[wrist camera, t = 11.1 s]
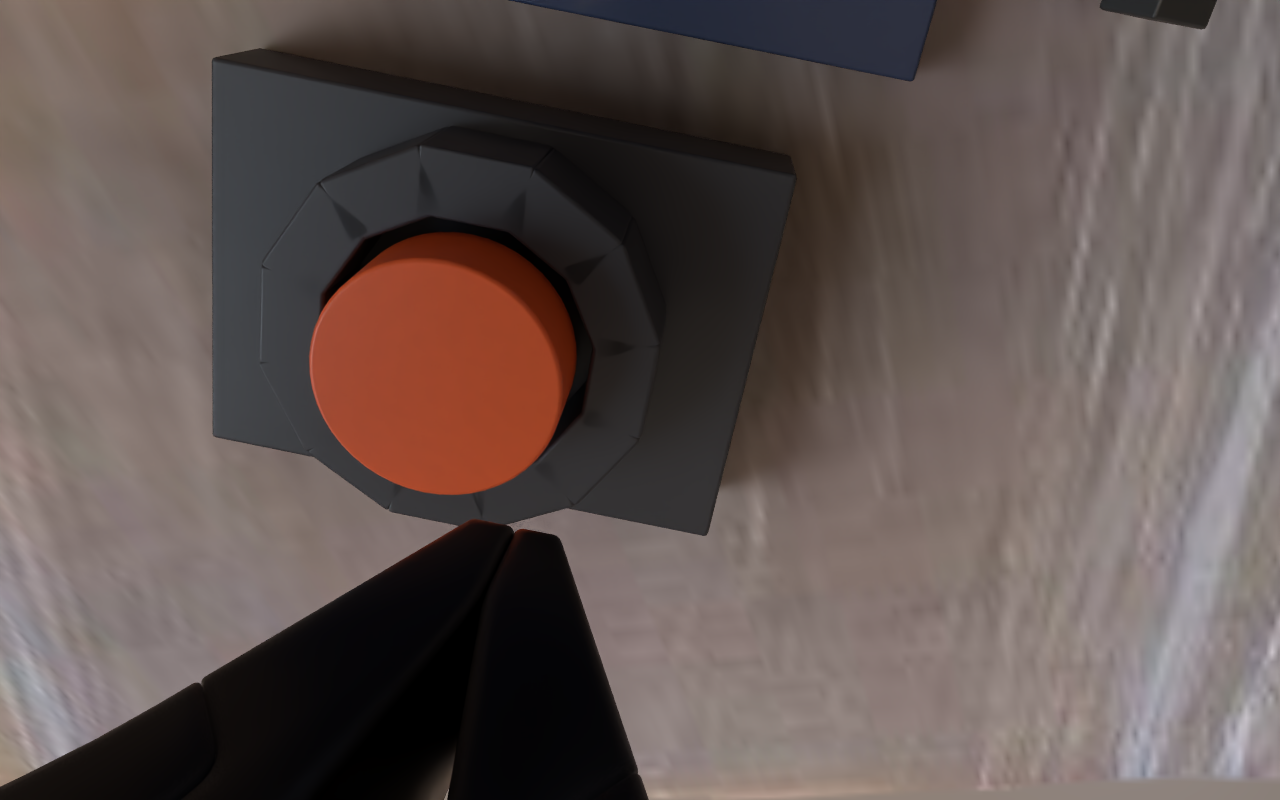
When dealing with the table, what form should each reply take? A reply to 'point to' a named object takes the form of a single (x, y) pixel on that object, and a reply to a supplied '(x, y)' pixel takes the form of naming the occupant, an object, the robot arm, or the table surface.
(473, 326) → the orange button
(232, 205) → the button housing
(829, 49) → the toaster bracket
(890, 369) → the table surface
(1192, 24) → the lever
